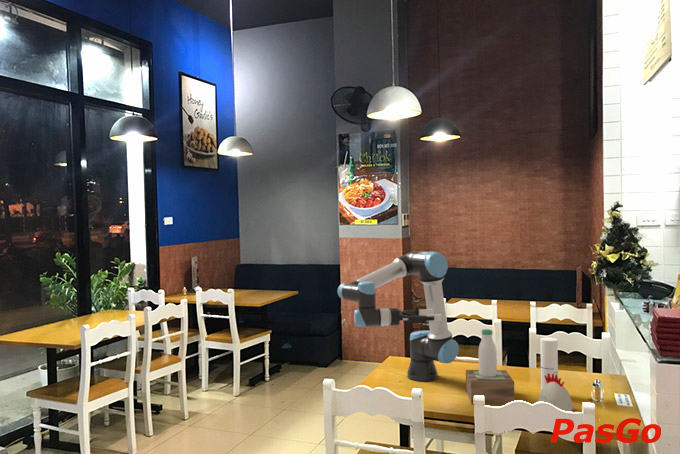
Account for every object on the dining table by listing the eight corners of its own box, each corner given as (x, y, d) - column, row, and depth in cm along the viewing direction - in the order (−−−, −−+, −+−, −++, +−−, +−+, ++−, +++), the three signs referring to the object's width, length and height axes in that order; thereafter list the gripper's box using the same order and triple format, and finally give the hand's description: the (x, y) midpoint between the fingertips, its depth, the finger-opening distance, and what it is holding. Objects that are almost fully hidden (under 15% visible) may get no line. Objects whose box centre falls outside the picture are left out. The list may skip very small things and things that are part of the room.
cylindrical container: (539, 392, 247) (538, 337, 247) (554, 392, 247) (554, 337, 247) (544, 397, 240) (543, 341, 240) (560, 397, 240) (559, 340, 239)
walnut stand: (466, 390, 252) (465, 369, 252) (506, 390, 250) (505, 369, 250) (471, 404, 234) (471, 381, 234) (514, 404, 233) (514, 381, 232)
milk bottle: (497, 377, 238) (496, 332, 237) (479, 377, 239) (478, 331, 239) (496, 372, 245) (495, 328, 245) (478, 372, 247) (477, 328, 246)
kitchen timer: (547, 402, 235) (547, 367, 235) (579, 410, 225) (578, 373, 224) (531, 410, 226) (530, 374, 225) (563, 419, 215) (562, 381, 215)
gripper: (385, 320, 251) (430, 317, 253) (394, 331, 227) (445, 329, 228) (384, 303, 251) (430, 301, 253) (394, 313, 226) (444, 311, 228)
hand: (437, 314), depth 241 cm, fingers open, 13 cm apart
